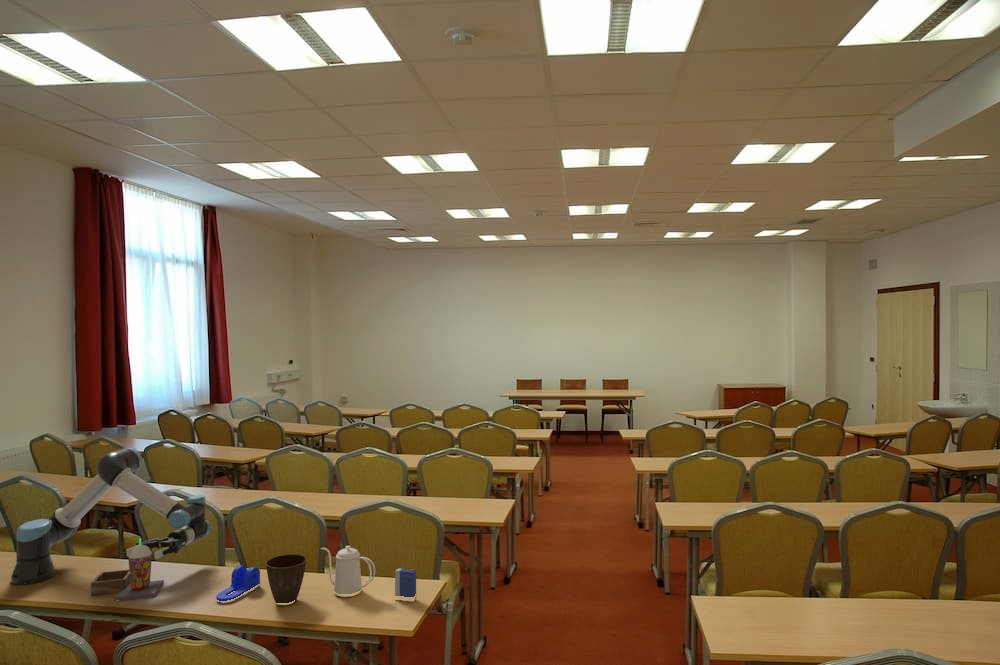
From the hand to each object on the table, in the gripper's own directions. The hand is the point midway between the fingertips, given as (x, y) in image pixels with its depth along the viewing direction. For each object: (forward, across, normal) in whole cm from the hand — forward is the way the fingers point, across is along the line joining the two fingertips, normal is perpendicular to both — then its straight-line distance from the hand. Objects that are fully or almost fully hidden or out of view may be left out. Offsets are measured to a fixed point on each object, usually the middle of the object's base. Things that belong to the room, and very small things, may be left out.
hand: (141, 554), depth 248 cm
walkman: (-18, -107, -16) cm, 110 cm away
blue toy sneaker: (-7, -39, -16) cm, 42 cm away
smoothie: (0, 0, -14) cm, 14 cm away
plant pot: (-6, -62, -16) cm, 65 cm away
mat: (0, 0, -15) cm, 15 cm away
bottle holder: (-1, +15, -15) cm, 21 cm away
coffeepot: (-19, -81, -16) cm, 85 cm away
